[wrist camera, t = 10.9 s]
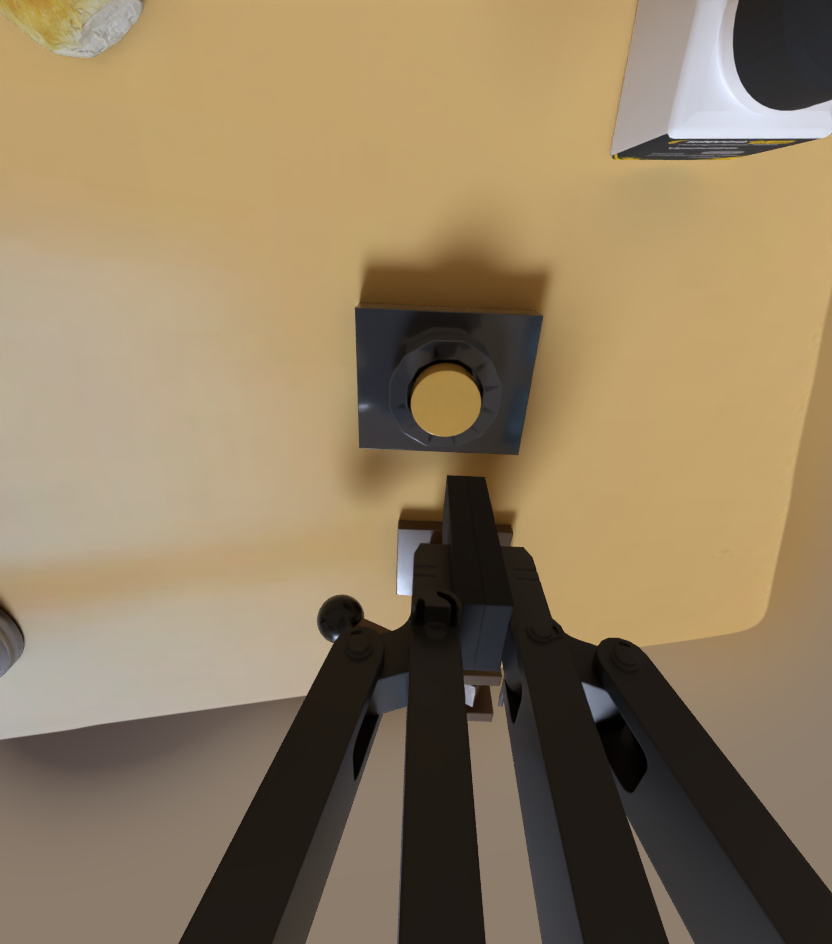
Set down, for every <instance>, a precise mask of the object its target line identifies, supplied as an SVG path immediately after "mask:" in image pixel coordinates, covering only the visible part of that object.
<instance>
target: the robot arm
mask: <svg viewBox="0 0 832 944" xmlns="http://www.w3.org/2000/svg"><path fill="white" fill-rule="evenodd" d="M442 542H443V544H428V543H420V545H419V546H418V548H417V549H416V551H415V552H414V562H413V581H412V603H411V615H410V617H409V619H408V621H407V622H406V623H405V624H404V625H403V626H401V627H400V628H398V629H396V630H394V631H391V632H387V633H383V634H379V633H378V632H377V631H376V630H373V629H371V628H369V627H361V626H357V627H353V628H349V629H347V630H346V631H344V632H343V633H341V634H340V635H339V636H338V638H337V639H336V640H335V642H334V644H333V646H332V648H331V650H330V652H329V653H328V655H327V657H326V659H325V661H324V663H323V665H322V667H321V669H320V671H319V673H318V675H317V677H316V679H315V681H314V682H313V684H312V686H311V688H310V690H309V692H308V694H307V696H306V698H305V700H304V702H303V704H302V706H301V708H300V710H299V711H298V714H297V715H296V717H295V719H294V721H293V723H292V725H291V727H290V729H289V731H288V733H287V735H286V737H285V739H284V740H283V742H282V744H281V746H280V748H279V750H278V752H277V754H276V756H275V758H274V760H273V762H272V764H271V766H270V768H269V769H268V771H267V773H266V775H265V777H264V779H263V781H262V783H261V785H260V787H259V789H258V791H257V793H256V795H255V797H254V798H253V800H252V802H251V804H250V806H249V808H248V810H247V812H246V814H245V816H244V818H243V820H242V822H241V824H240V826H239V828H238V829H237V831H236V833H235V835H234V837H233V839H232V841H231V843H230V845H229V847H228V849H227V851H226V853H225V855H224V857H223V858H222V860H221V862H220V864H219V866H218V868H217V870H216V872H215V874H214V876H213V878H212V880H211V882H210V884H209V886H208V888H207V889H206V891H205V893H204V895H203V897H202V899H201V901H200V903H199V905H198V907H197V909H196V911H195V913H194V915H193V916H192V919H191V921H190V922H189V924H188V926H187V928H186V930H185V932H184V934H183V936H182V938H181V940H180V942H179V944H305V943H306V940H307V937H308V934H309V931H310V928H311V925H312V922H313V919H314V916H315V913H316V911H317V908H318V905H319V902H320V899H321V896H322V893H323V889H324V887H325V884H326V881H327V878H328V875H329V872H330V869H331V866H332V863H333V860H334V857H335V854H336V851H337V848H338V845H339V843H340V840H341V837H342V834H343V830H344V828H345V824H346V822H347V819H348V816H349V813H350V810H351V807H352V804H353V801H354V798H355V795H356V792H357V789H358V786H359V783H360V780H361V778H362V775H363V772H364V769H365V765H366V762H367V760H368V757H369V754H370V751H371V748H372V745H373V742H374V739H375V736H376V733H377V730H378V727H379V724H380V721H381V718H382V715H383V713H386V712H389V711H393V710H396V709H399V708H403V707H406V706H407V716H406V718H407V719H406V742H405V765H404V789H403V814H402V815H403V816H402V840H401V863H400V886H399V889H400V890H399V911H398V935H397V944H486V942H485V931H484V930H485V929H484V917H483V905H482V893H481V883H480V882H481V881H480V870H479V858H478V845H477V833H476V821H475V809H474V797H473V785H472V772H471V760H470V748H469V736H468V724H467V712H466V699H465V687H464V675H463V670H479V671H500V667H501V662H502V664H503V670H504V679H503V683H502V687H501V692H500V696H499V704H498V706H503V701H504V704H505V711H506V717H507V723H508V730H509V736H510V742H511V749H512V755H513V761H514V767H515V774H516V780H517V787H518V793H519V799H520V806H521V812H522V818H523V825H524V830H525V837H526V844H527V850H528V856H529V863H530V869H531V875H532V881H533V888H534V894H535V900H536V907H537V913H538V920H539V926H540V932H541V938H542V944H669V942H668V939H667V936H666V933H665V930H664V927H663V924H662V921H661V918H660V915H659V912H658V909H657V906H656V903H655V900H654V897H653V894H652V891H651V888H650V885H649V882H648V879H647V877H646V873H645V870H644V867H643V864H642V862H641V858H640V855H639V852H638V849H637V846H636V843H635V840H634V838H633V835H632V831H631V828H630V825H629V823H628V820H627V817H628V819H629V821H630V823H631V825H632V827H633V829H634V830H635V832H636V834H637V836H638V838H639V840H640V841H641V844H642V845H643V847H644V849H645V851H646V853H647V855H648V857H649V858H650V860H651V862H652V864H653V866H654V868H655V870H656V871H657V874H658V875H659V877H660V879H661V881H662V883H663V885H664V887H665V889H666V891H667V892H668V894H669V896H670V898H671V900H672V902H673V904H674V906H675V907H676V909H677V911H678V913H679V915H680V916H681V919H682V920H683V922H684V924H685V926H686V928H687V930H688V932H689V934H690V935H691V937H692V939H693V941H694V943H695V944H832V893H831V891H830V890H829V889H828V888H827V886H826V885H825V884H824V882H823V881H822V880H821V879H820V877H819V876H818V875H817V873H816V872H815V871H814V870H813V868H812V867H811V866H810V864H809V863H808V862H807V861H806V860H805V858H804V857H803V855H802V854H801V853H800V852H799V850H798V849H797V848H796V846H795V845H794V844H793V843H792V841H791V840H790V839H789V838H788V836H787V835H786V834H785V832H784V831H783V830H782V828H781V827H780V826H779V825H778V823H777V822H776V821H775V819H774V818H773V817H772V816H771V814H770V813H769V812H768V810H767V809H766V808H765V807H764V805H763V804H762V803H761V802H760V800H759V799H758V798H757V796H756V795H755V794H754V792H753V791H752V790H751V789H750V787H749V786H748V785H747V783H746V782H745V781H744V779H743V778H742V777H741V776H740V775H739V773H738V772H737V771H736V769H735V768H734V767H733V765H732V764H731V763H730V762H729V760H728V759H727V758H726V756H725V755H724V754H723V752H722V751H721V750H720V749H719V747H718V746H717V745H716V744H715V742H714V741H713V740H712V738H711V737H710V736H709V735H708V733H707V732H706V731H705V730H704V728H703V727H702V726H701V724H700V723H699V722H698V720H697V719H696V718H695V716H694V715H693V714H692V713H691V711H690V710H689V709H688V708H687V706H686V705H685V704H684V702H683V701H682V700H681V698H679V696H678V695H677V693H676V692H675V691H674V689H673V688H672V687H671V686H670V684H669V683H668V682H667V680H666V679H665V678H664V677H663V675H662V674H661V673H660V671H659V670H658V669H657V668H656V666H655V665H654V664H653V662H652V661H651V660H650V659H649V657H648V656H647V655H646V654H645V653H644V652H643V651H642V650H641V649H640V648H639V647H638V646H636V645H634V644H633V643H631V642H629V641H627V640H624V639H620V638H607V639H605V640H602V641H601V643H600V644H599V645H598V646H596V645H593V644H590V643H587V642H584V641H581V640H578V639H575V638H573V637H571V636H569V635H568V634H566V633H564V631H563V629H562V627H561V626H560V625H559V624H558V623H557V622H556V621H555V620H554V619H552V617H551V614H550V611H549V608H548V604H547V601H546V598H545V595H544V592H543V589H542V586H541V582H540V581H539V576H538V573H537V572H536V567H535V564H534V560H533V558H532V556H531V555H530V554H529V553H528V552H527V551H526V550H525V549H524V547H508V546H500V541H499V537H498V533H497V528H496V524H495V520H494V515H493V511H492V506H491V502H490V498H489V493H488V489H487V485H486V480H485V477H472V476H452V475H447V481H446V491H445V502H444V513H443V524H442ZM23 647H24V644H23V638H22V635H21V633H20V631H19V629H18V628H17V626H16V625H15V623H14V622H13V621H12V619H11V618H10V617H9V616H8V615H7V614H6V613H5V612H4V611H3V610H1V609H0V677H1V676H3V675H4V674H5V673H6V672H7V671H8V670H9V668H10V667H11V666H12V665H13V664H14V663H15V662H16V661H17V660H18V659H19V658H20V656H21V655H22V652H23ZM626 815H627V817H626Z"/></svg>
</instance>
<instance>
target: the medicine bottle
mask: <svg viewBox="0 0 832 944" xmlns="http://www.w3.org/2000/svg"><path fill="white" fill-rule="evenodd" d="M831 133H832V0H639V1H638V6H637V11H636V17H635V22H634V28H633V33H632V38H631V44H630V49H629V54H628V60H627V65H626V71H625V76H624V81H623V87H622V92H621V98H620V103H619V108H618V114H617V119H616V125H615V130H614V135H613V141H612V146H611V152H610V156H611V157H612V159H615V160H730V159H734V158H739V157H743V156H747V155H752V154H756V153H760V152H765V151H769V150H773V149H778V148H782V147H786V146H790V145H795V144H799V143H803V142H808V141H812V140H816V139H821V138H824V137H827V136H828V135H830V134H831Z"/></svg>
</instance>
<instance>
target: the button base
mask: <svg viewBox="0 0 832 944" xmlns="http://www.w3.org/2000/svg"><path fill="white" fill-rule="evenodd" d="M542 321H543V315H541V314H540V313H538V312H537V311H533V310H510V309H487V308H465V307H442V306H419V305H397V304H374V303H359V304H358V305H357V306H356V307H355V324H356V356H357V388H358V420H359V448H367V449H391V450H415V451H439V452H463V453H487V454H511V455H518V453H519V448H520V442H521V437H522V431H523V426H524V420H525V415H526V409H527V404H528V398H529V393H530V387H531V382H532V376H533V371H534V365H535V359H536V354H537V348H538V343H539V337H540V332H541V326H542ZM438 363H453V364H457V365H459V366H461V367H463V368H465V369H466V370H468V371H469V372H470V373H471V375H472V376H473V377H474V379H475V381H476V384H477V386H478V389H479V392H480V396H481V409H480V413H479V415H478V417H477V419H476V421H475V422H474V423H473V424H472V426H471V427H469V428H468V429H467V430H465V431H464V432H462V433H460V434H457V435H454V436H448V437H442V436H436V435H433V434H430V433H428V432H426V431H425V430H423V429H422V428H421V427H420V426H419V425H418V424H417V422H416V421H415V419H414V417H413V414H412V410H411V394H412V388H413V385H414V382H415V380H416V379H417V377H418V376H419V375H420V374H421V373H422V372H423V371H424V370H425V369H426V368H428V367H430V366H432V365H435V364H438Z"/></svg>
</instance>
